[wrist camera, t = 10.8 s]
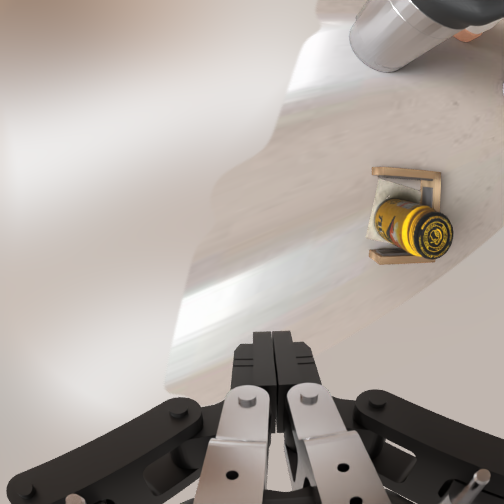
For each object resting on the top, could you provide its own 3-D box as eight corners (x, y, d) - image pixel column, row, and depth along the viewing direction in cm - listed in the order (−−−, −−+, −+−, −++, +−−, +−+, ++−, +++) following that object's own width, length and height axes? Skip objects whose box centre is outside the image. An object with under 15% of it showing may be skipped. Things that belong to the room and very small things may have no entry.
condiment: (365, 238, 41) (403, 261, 29) (378, 178, 39) (422, 181, 27) (408, 247, 41) (453, 272, 29) (420, 191, 39) (470, 199, 27)
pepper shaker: (464, 49, 32) (537, 16, 14) (434, 17, 31) (500, -29, 13) (477, 31, 31) (543, 0, 13) (448, 1, 30) (509, -41, 11)
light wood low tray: (371, 167, 38) (383, 167, 34) (426, 171, 38) (440, 172, 34) (368, 256, 41) (379, 264, 37) (421, 254, 41) (435, 262, 37)
